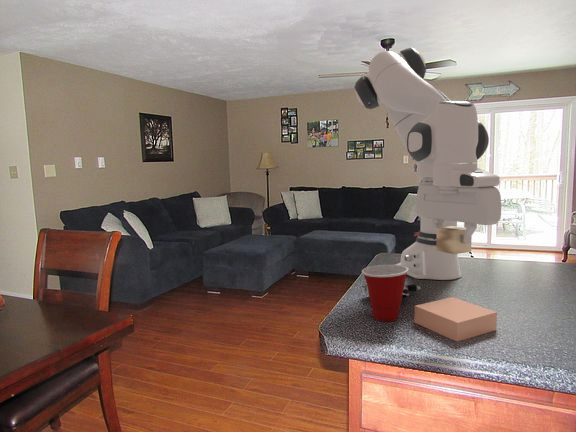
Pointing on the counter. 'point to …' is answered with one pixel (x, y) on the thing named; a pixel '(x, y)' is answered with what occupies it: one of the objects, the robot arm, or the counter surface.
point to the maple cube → (451, 240)
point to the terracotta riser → (455, 318)
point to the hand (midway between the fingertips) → (453, 241)
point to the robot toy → (405, 291)
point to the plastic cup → (385, 290)
